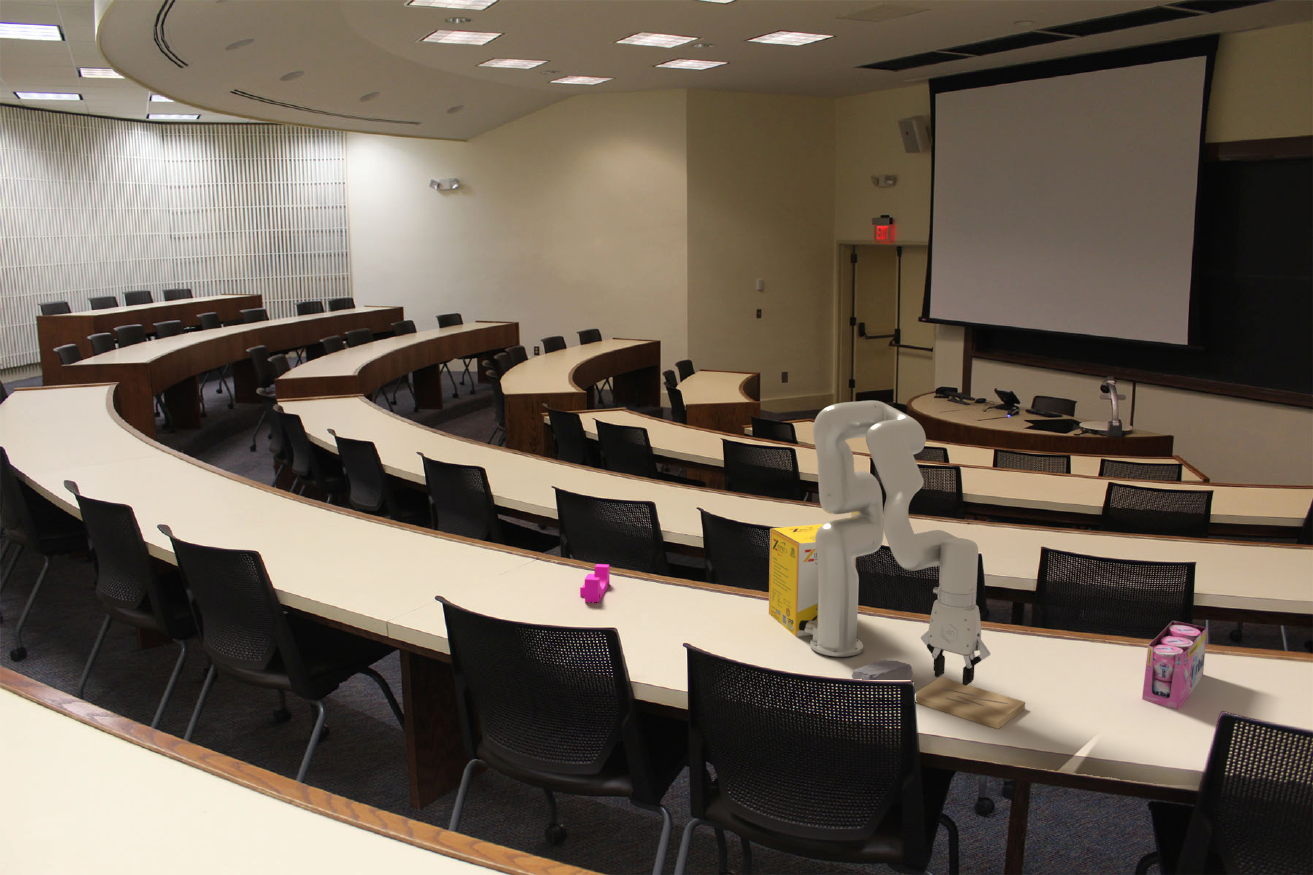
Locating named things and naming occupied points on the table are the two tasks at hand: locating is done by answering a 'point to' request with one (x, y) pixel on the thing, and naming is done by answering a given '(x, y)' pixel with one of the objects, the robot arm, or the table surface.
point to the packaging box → (794, 577)
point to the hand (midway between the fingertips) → (953, 678)
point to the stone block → (884, 671)
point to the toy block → (596, 584)
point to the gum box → (1174, 664)
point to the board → (969, 702)
